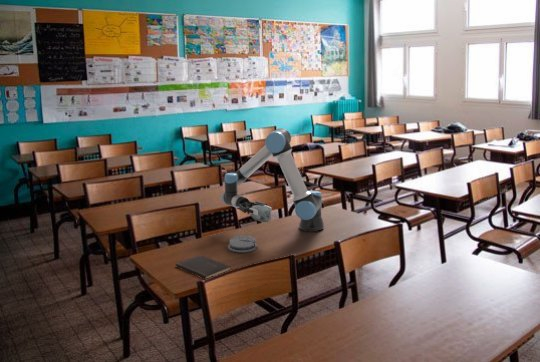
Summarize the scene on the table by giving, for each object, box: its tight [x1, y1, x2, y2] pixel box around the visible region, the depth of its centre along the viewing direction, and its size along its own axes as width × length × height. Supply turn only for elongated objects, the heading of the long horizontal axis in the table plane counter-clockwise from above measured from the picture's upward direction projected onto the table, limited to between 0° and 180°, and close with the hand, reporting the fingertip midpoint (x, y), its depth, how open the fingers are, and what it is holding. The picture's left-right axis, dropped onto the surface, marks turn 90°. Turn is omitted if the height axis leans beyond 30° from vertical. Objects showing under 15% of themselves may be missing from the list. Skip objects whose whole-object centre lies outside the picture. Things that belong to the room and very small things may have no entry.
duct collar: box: [227, 235, 258, 254], centre depth 283 cm, size 16×16×5 cm
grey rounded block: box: [249, 205, 272, 223], centre depth 290 cm, size 14×10×10 cm
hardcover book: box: [175, 254, 231, 280], centre depth 256 cm, size 16×23×2 cm
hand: (264, 211), depth 287 cm, fingers closed on grey rounded block, 9 cm apart
